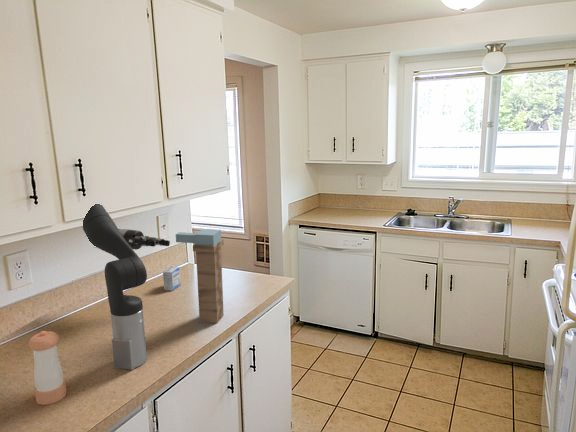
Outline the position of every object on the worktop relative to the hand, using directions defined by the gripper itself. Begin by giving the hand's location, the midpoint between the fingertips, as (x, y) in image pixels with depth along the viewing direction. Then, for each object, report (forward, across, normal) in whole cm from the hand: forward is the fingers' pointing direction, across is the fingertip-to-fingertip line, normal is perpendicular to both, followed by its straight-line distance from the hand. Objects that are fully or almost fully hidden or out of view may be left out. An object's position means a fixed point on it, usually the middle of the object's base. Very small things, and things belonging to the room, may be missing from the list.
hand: (162, 243), depth 163 cm
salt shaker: (+6, -48, +41) cm, 63 cm away
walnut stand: (+21, +7, +26) cm, 34 cm away
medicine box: (-13, +28, +22) cm, 37 cm away
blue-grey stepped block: (+17, -1, -2) cm, 17 cm away
